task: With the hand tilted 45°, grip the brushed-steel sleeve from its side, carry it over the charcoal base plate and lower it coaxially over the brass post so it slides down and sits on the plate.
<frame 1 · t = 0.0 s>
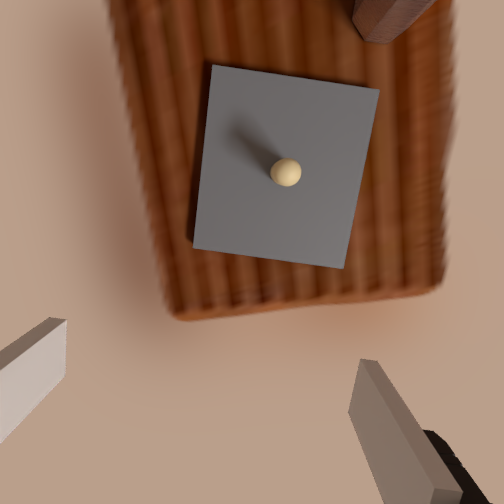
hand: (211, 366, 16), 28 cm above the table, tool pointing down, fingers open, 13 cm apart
post plate: (280, 172, 41), on the table
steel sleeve: (381, 11, 37), on the table
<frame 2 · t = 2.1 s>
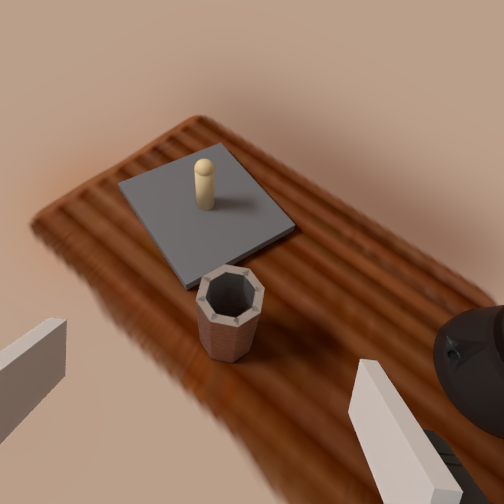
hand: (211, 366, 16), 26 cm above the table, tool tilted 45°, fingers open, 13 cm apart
post plate: (205, 210, 53), on the table
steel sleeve: (226, 336, 43), on the table
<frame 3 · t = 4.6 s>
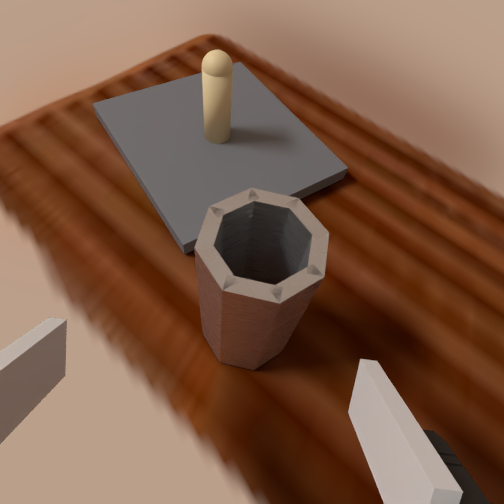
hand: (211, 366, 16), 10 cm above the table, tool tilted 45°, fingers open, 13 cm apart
post plate: (217, 146, 37), on the table
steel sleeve: (245, 326, 27), on the table
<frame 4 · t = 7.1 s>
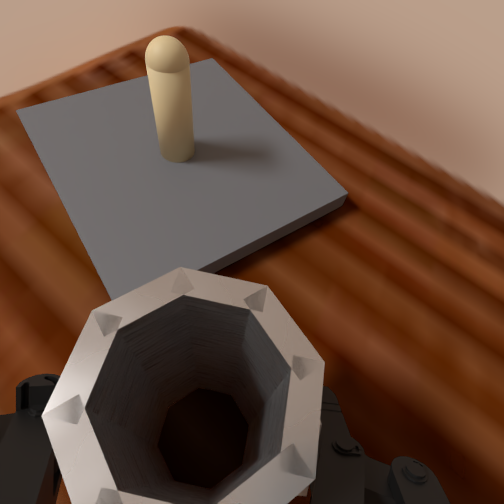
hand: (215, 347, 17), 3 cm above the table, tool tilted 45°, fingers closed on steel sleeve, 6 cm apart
post plate: (179, 165, 28), on the table
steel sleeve: (204, 435, 18), on the table, touching gripper
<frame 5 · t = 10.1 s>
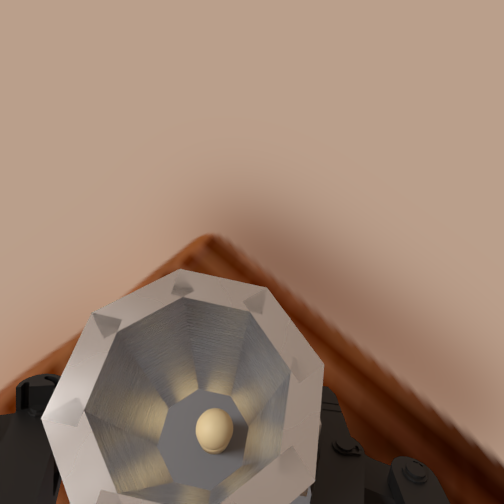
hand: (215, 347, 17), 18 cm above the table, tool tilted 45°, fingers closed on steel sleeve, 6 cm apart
post plate: (214, 438, 31), on the table
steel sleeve: (204, 436, 18), point 15 cm above the table, touching gripper
when the fingers open (6 cm above the table, at t = 13.4 s): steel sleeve drops 1 cm, resting on post plate.
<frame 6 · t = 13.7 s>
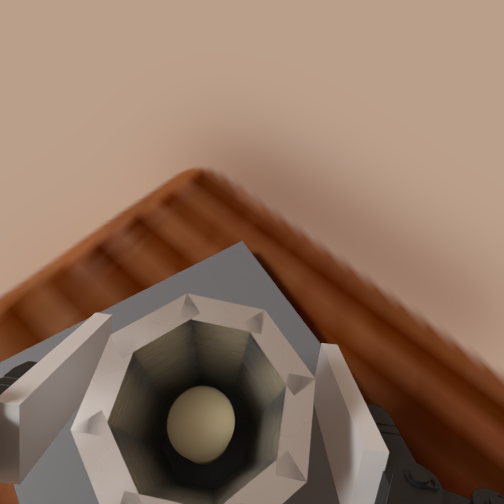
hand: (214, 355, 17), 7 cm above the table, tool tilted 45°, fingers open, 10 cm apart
post plate: (205, 439, 21), on the table
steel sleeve: (206, 439, 19), point 2 cm above the table, touching post plate
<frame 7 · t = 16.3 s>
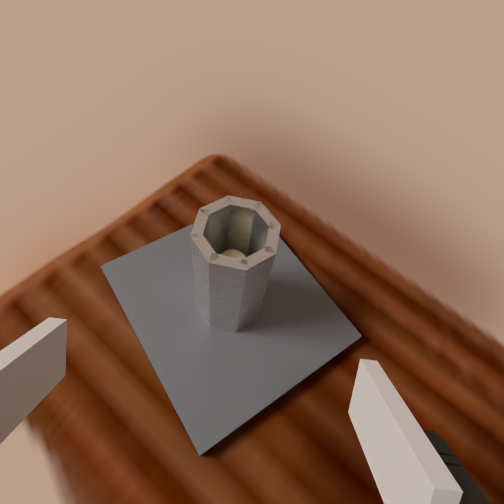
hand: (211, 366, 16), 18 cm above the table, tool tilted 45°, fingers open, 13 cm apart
post plate: (228, 306, 36), on the table
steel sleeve: (229, 301, 35), point 1 cm above the table, touching post plate
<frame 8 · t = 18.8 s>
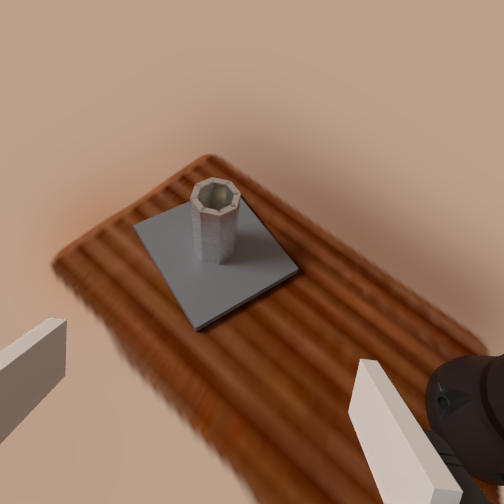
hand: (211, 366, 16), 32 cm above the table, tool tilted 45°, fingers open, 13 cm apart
post plate: (214, 251, 56), on the table
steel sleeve: (215, 247, 55), point 1 cm above the table, touching post plate
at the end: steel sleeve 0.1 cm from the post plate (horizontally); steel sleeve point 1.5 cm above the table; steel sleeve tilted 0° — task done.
